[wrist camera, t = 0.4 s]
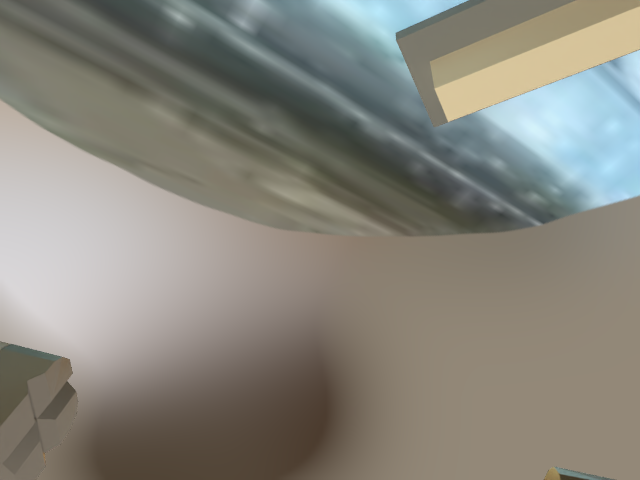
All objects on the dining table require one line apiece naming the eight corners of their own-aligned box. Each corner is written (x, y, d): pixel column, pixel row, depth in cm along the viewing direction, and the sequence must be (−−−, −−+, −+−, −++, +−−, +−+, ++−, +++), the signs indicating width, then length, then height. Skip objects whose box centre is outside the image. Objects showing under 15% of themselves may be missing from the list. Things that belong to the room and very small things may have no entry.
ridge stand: (432, 119, 60) (438, 156, 55) (395, 33, 54) (398, 66, 50) (670, 28, 53) (700, 62, 48) (657, -84, 47) (690, -58, 42)
